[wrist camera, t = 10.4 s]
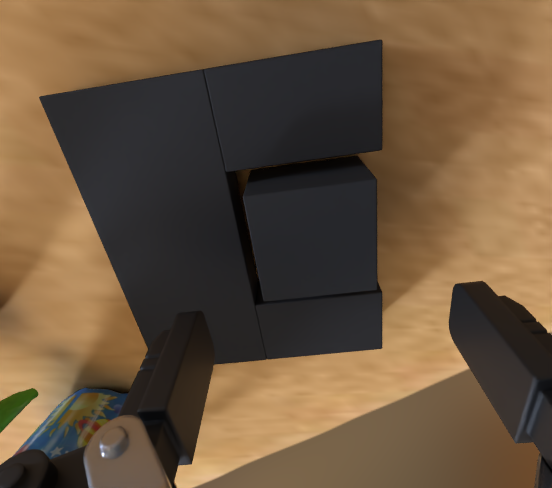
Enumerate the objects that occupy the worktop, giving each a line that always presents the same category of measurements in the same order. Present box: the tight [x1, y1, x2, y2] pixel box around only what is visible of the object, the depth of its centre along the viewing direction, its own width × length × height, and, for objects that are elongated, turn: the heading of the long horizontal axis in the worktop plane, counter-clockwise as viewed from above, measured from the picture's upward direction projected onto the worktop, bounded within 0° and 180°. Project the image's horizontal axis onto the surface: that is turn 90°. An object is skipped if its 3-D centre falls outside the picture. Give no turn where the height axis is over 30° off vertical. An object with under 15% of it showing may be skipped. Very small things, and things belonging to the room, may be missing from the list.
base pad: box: [39, 40, 382, 365], centre depth 18 cm, size 16×14×2 cm
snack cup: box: [0, 388, 128, 459], centre depth 23 cm, size 16×10×10 cm
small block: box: [243, 156, 377, 301], centre depth 17 cm, size 6×6×4 cm
